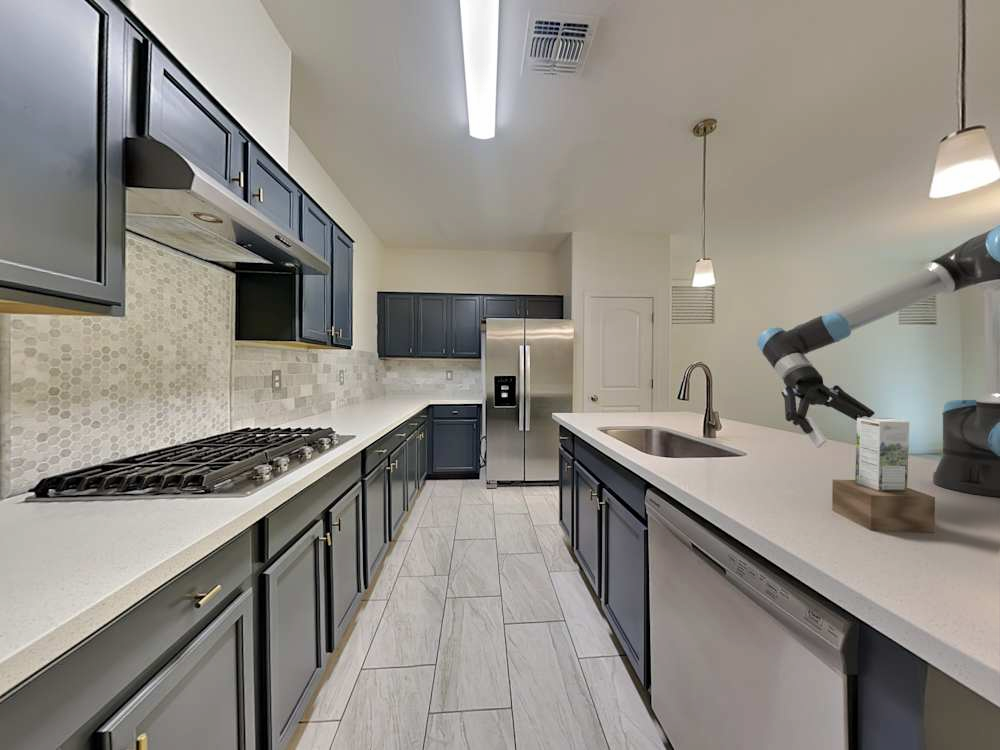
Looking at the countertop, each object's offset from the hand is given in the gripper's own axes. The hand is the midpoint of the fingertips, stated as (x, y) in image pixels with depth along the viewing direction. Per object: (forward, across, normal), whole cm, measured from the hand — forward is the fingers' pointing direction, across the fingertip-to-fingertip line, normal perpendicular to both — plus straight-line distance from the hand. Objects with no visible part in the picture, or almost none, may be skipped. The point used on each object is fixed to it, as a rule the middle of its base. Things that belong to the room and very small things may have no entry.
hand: (851, 443), depth 89 cm
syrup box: (+10, 0, -1) cm, 10 cm away
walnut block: (+15, 0, -6) cm, 16 cm away
